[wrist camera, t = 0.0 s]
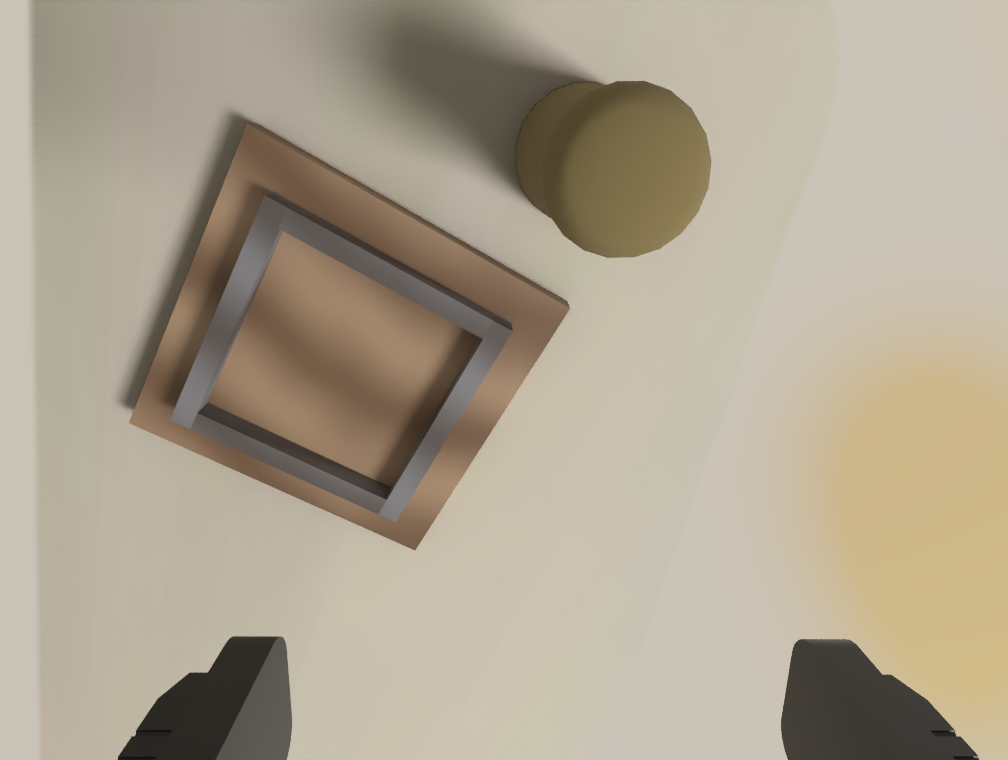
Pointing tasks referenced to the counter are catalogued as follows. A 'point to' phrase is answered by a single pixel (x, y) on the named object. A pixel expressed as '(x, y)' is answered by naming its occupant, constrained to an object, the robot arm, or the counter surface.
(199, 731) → the robot arm
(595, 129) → the cork
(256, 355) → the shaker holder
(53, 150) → the counter surface
